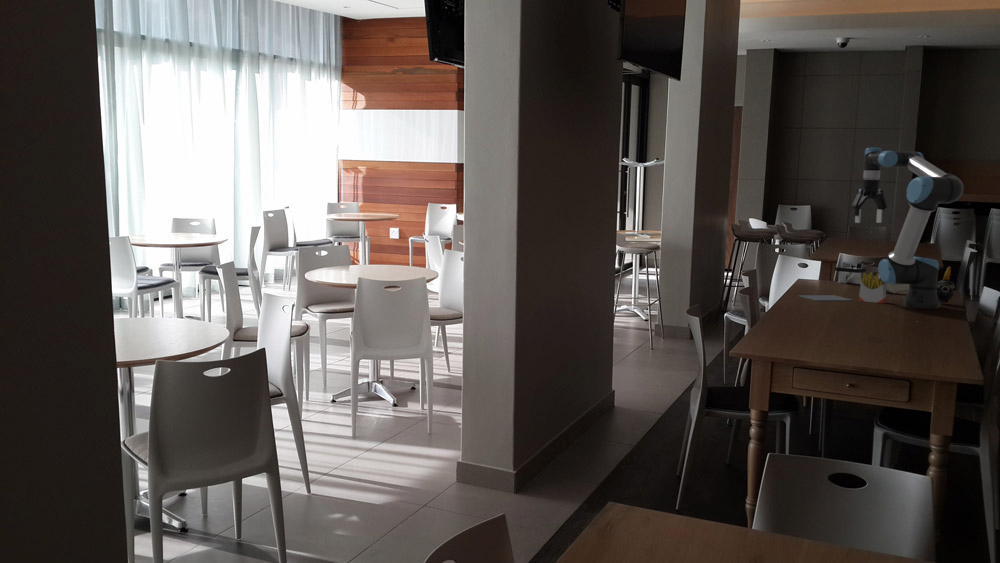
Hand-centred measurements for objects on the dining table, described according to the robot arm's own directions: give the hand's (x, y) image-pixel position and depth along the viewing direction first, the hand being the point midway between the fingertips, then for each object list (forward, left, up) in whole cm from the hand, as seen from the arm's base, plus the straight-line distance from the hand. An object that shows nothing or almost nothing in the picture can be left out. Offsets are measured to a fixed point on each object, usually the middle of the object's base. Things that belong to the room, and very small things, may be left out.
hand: (868, 222), depth 413 cm
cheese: (+12, -16, -38) cm, 42 cm away
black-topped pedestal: (+36, -16, -37) cm, 54 cm away
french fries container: (-20, +9, -41) cm, 46 cm away
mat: (-9, +26, -36) cm, 46 cm away
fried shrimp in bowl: (-25, -26, -37) cm, 51 cm away
